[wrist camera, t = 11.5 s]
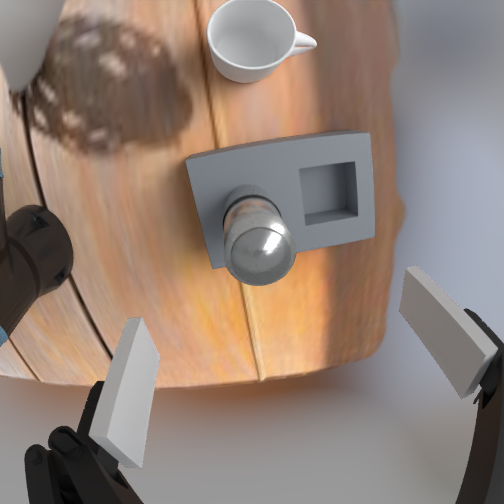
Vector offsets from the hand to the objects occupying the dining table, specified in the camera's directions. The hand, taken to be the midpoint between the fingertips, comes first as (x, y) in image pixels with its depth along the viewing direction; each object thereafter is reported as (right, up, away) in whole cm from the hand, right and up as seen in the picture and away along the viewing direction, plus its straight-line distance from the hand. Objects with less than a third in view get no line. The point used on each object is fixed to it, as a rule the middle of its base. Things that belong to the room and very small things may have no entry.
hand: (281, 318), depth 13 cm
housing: (+3, +12, +26) cm, 28 cm away
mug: (-1, +29, +18) cm, 34 cm away
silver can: (-2, +8, +20) cm, 22 cm away
